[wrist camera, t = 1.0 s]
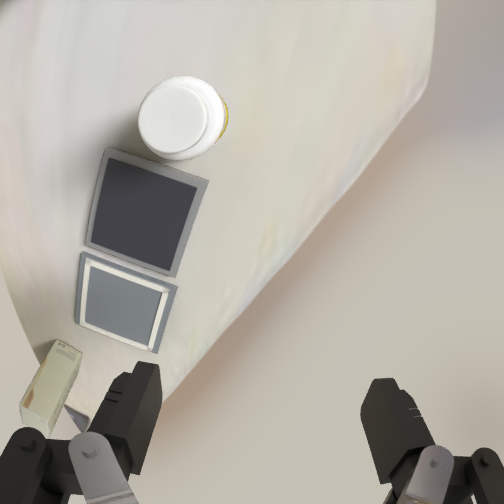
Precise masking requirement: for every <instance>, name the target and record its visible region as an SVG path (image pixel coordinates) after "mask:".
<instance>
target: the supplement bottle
mask: <svg viewBox="0 0 504 504" xmlns="http://www.w3.org/2000/svg"><path fill="white" fill-rule="evenodd" d="M227 123H228V110H227V106H226V104H225V101H224V100H223V98H222V97H221V96H220V95H219V94H218V93H217V92H216V91H215V90H214V89H213V88H212V87H211V86H210V85H208V84H207V83H205V82H204V81H202V80H200V79H197V78H194V77H188V76H178V77H172V78H169V79H166V80H164V81H162V82H160V83H159V84H157V85H156V86H154V87H153V88H152V89H151V90H150V91H149V92H148V93H147V95H146V96H145V98H144V99H143V101H142V103H141V106H140V109H139V113H138V128H139V132H140V135H141V138H142V139H143V141H144V143H145V144H146V145H147V147H148V148H149V149H150V150H151V151H153V152H154V153H155V154H157V155H159V156H160V157H162V158H165V159H169V160H175V161H182V160H189V159H192V158H195V157H198V156H200V155H201V154H203V153H205V152H206V151H207V150H209V149H210V148H211V147H212V146H213V145H214V144H215V143H216V141H217V140H218V139H219V138H220V137H221V136H222V134H223V133H224V131H225V129H226V126H227Z"/></svg>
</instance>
